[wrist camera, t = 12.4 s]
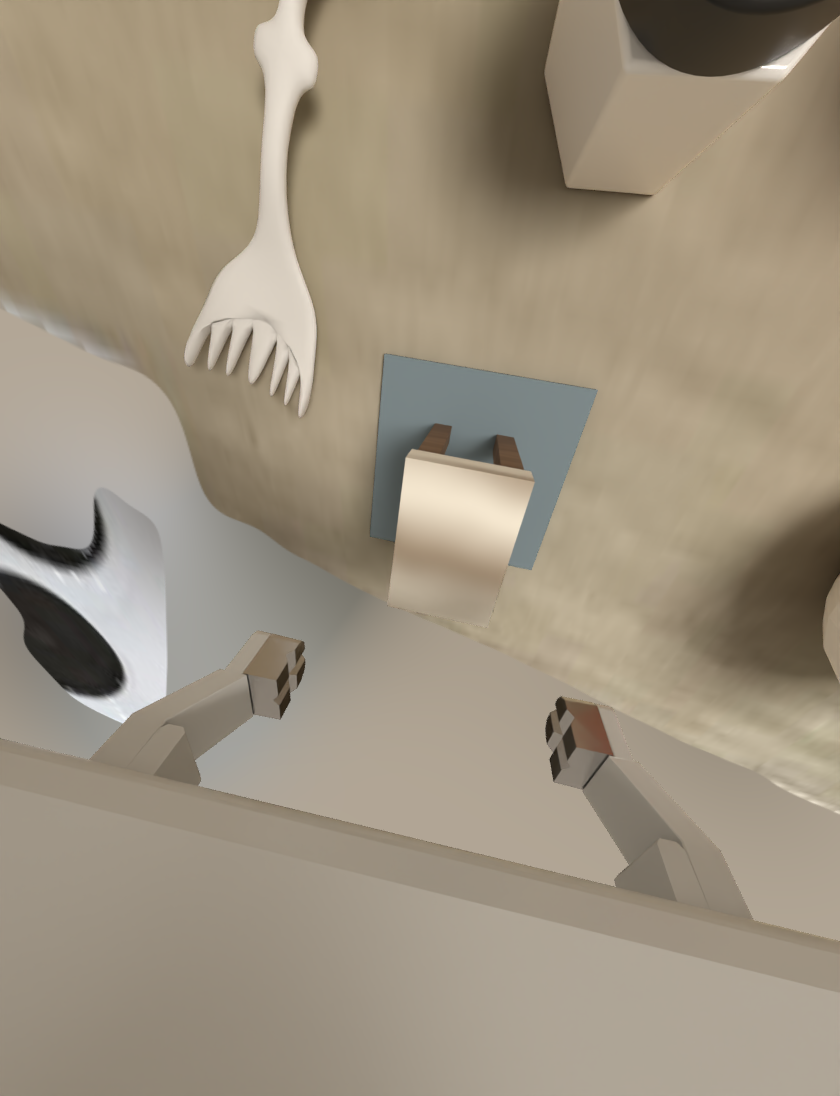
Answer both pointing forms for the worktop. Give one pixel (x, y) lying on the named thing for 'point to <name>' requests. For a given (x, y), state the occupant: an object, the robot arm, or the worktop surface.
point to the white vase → (832, 627)
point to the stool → (457, 529)
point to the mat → (477, 434)
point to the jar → (664, 80)
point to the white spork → (269, 234)
